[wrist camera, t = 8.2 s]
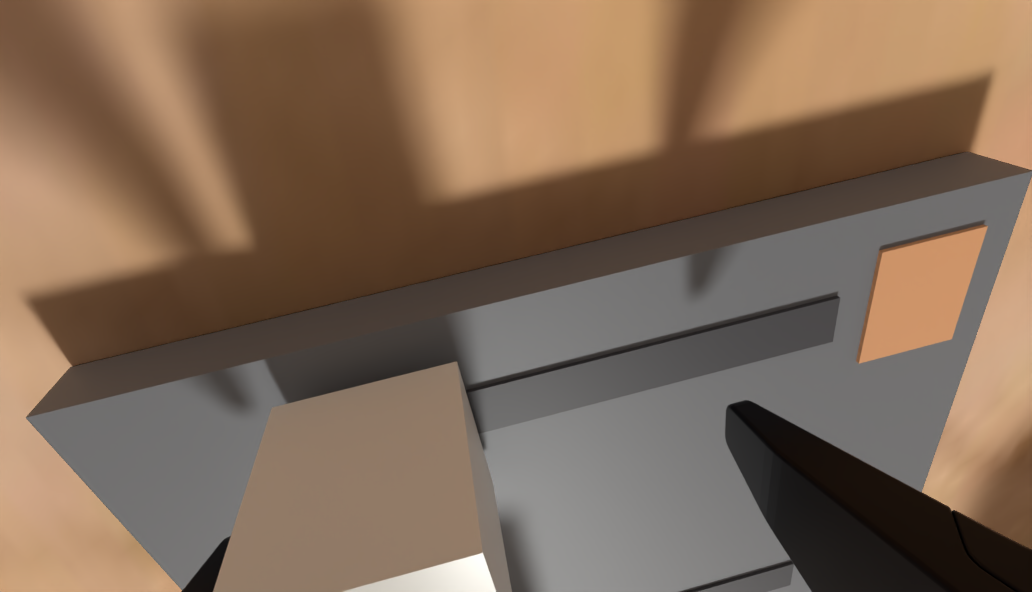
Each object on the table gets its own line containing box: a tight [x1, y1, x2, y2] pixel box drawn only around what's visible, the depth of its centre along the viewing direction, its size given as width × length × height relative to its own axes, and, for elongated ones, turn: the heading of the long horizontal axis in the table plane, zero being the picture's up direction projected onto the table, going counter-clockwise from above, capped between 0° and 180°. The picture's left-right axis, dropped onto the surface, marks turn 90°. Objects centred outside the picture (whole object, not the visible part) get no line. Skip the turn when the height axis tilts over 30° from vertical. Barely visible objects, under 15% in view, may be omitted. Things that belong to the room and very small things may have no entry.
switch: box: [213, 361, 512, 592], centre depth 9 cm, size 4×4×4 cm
